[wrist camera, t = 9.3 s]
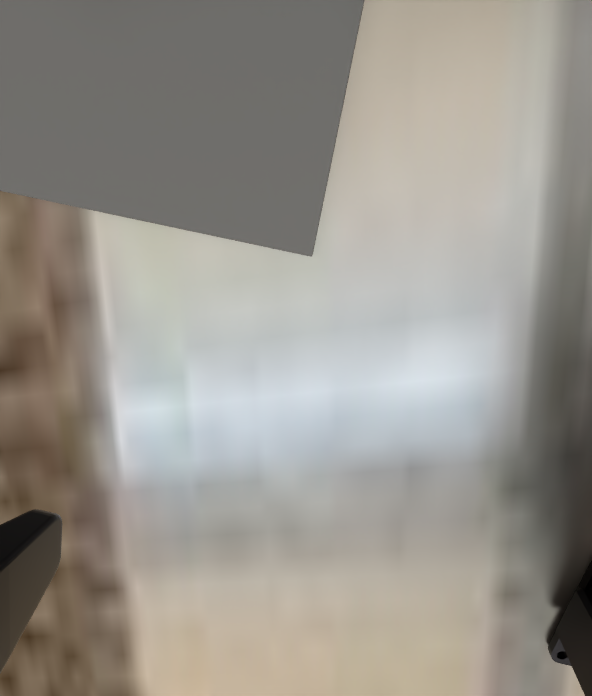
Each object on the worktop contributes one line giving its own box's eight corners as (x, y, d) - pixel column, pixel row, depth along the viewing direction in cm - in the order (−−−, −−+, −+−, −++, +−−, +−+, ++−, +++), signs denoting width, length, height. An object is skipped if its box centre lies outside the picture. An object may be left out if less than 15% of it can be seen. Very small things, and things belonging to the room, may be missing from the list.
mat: (376, -62, 15) (377, -68, 15) (312, 255, 19) (311, 256, 18) (-23, -137, 16) (-32, -145, 15) (-15, 185, 19) (-22, 185, 19)
